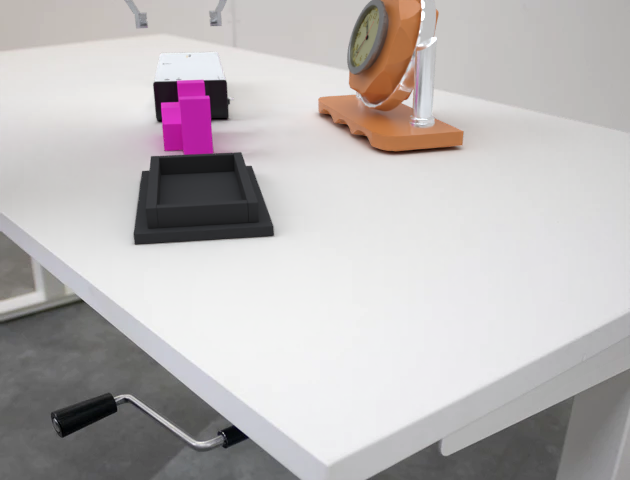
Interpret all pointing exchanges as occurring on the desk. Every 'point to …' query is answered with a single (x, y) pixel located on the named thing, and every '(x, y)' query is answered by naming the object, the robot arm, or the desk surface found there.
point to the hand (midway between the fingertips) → (179, 26)
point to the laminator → (191, 69)
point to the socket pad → (200, 200)
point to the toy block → (188, 120)
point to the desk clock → (393, 78)
